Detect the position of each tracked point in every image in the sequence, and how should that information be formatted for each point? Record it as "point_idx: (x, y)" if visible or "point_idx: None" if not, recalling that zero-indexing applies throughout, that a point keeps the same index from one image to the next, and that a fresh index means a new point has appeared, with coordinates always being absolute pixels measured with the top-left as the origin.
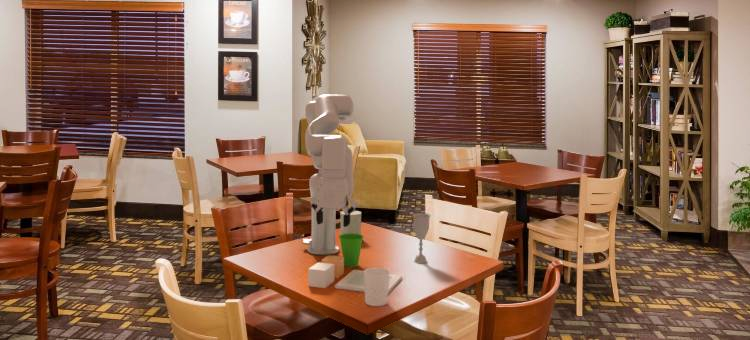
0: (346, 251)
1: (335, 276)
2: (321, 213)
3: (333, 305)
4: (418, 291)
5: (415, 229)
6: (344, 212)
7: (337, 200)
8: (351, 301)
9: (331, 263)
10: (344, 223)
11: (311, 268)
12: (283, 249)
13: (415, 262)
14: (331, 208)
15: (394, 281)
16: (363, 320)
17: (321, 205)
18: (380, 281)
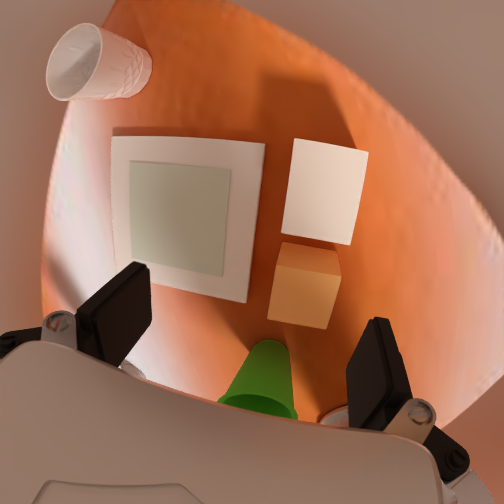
0: (271, 367)
1: (288, 244)
2: (362, 412)
3: (228, 12)
4: (70, 184)
5: None
6: (72, 335)
7: (10, 443)
8: (187, 53)
9: (301, 265)
10: (127, 273)
11: (357, 158)
12: (438, 412)
13: (138, 369)
14: (182, 392)
15: (115, 221)
16: None
17: (368, 455)
18: (74, 39)
